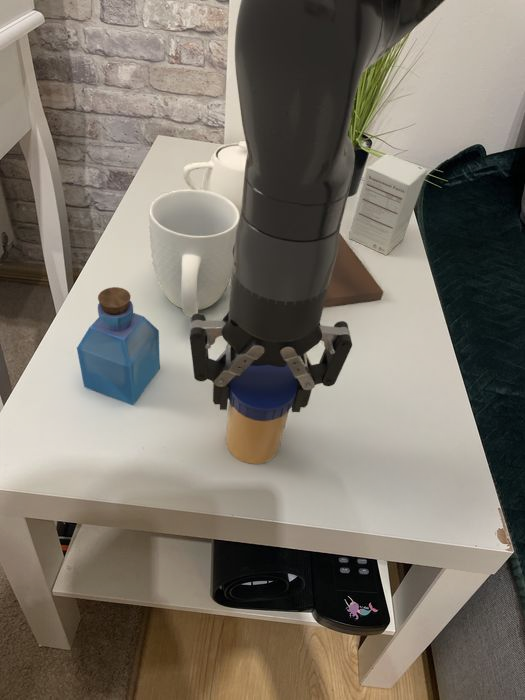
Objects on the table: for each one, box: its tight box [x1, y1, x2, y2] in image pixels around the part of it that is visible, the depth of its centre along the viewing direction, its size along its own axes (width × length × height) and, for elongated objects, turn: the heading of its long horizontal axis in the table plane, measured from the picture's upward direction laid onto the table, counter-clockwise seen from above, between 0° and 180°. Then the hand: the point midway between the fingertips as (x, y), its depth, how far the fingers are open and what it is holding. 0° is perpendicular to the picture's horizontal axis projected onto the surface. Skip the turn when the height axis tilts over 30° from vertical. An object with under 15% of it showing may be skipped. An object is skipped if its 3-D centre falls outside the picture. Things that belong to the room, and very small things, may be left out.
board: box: [324, 233, 384, 308], centre depth 78 cm, size 20×16×2 cm
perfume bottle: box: [76, 286, 161, 406], centre depth 56 cm, size 6×6×12 cm
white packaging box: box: [348, 153, 428, 256], centre depth 84 cm, size 7×7×13 cm
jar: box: [224, 400, 290, 465], centre depth 53 cm, size 6×6×10 cm
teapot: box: [182, 140, 247, 215], centre depth 88 cm, size 22×14×11 cm, turn 109°
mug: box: [148, 188, 240, 318], centre depth 66 cm, size 15×11×13 cm
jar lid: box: [228, 364, 298, 421], centre depth 49 cm, size 7×7×2 cm
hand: (259, 403), depth 51 cm, fingers closed on jar lid, 6 cm apart
